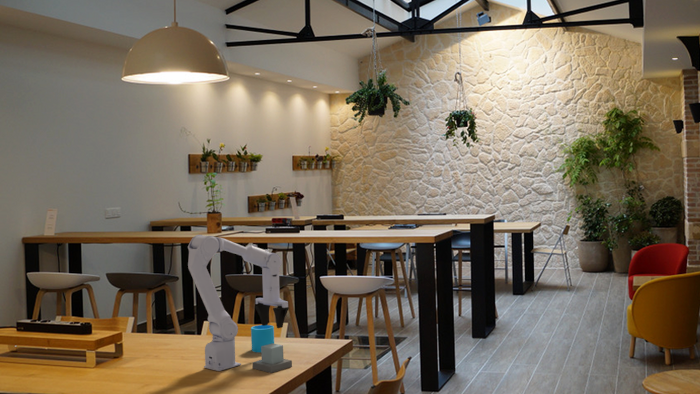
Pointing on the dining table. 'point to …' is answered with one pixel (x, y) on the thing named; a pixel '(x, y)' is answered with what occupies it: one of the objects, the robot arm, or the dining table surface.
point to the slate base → (272, 365)
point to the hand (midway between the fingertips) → (272, 326)
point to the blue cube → (272, 353)
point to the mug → (261, 336)
